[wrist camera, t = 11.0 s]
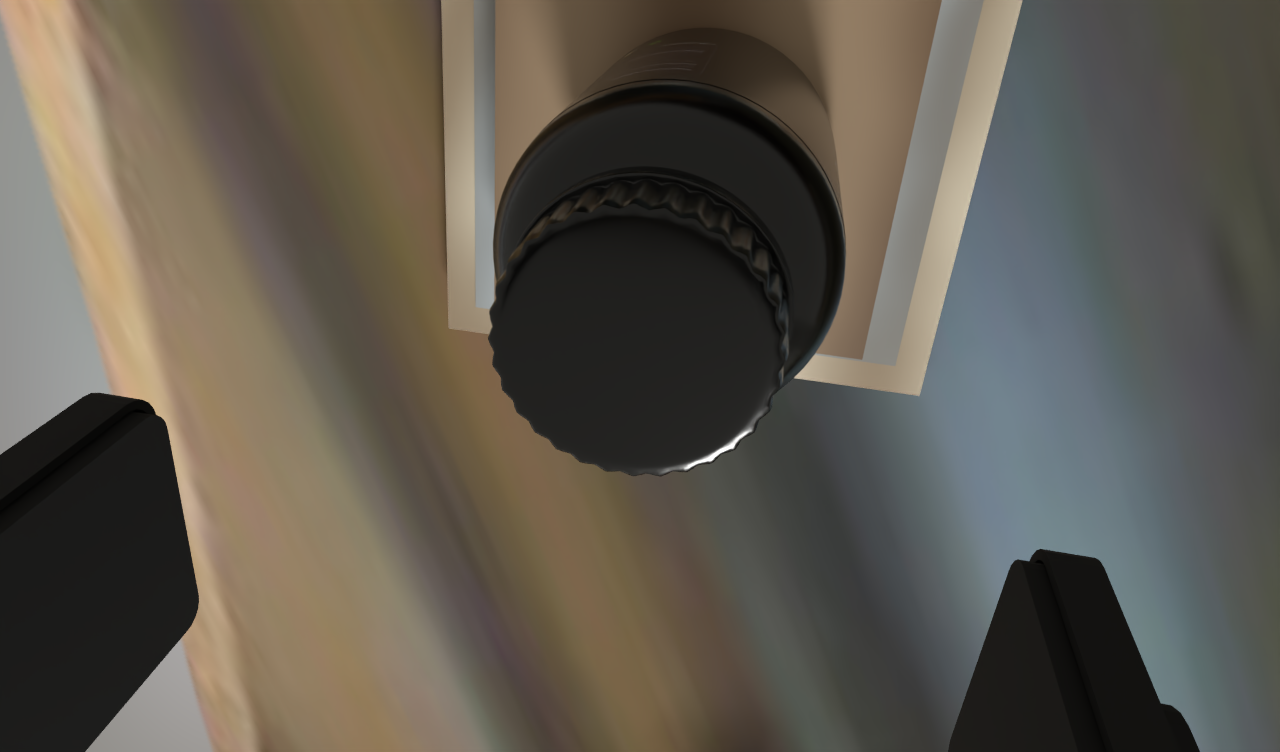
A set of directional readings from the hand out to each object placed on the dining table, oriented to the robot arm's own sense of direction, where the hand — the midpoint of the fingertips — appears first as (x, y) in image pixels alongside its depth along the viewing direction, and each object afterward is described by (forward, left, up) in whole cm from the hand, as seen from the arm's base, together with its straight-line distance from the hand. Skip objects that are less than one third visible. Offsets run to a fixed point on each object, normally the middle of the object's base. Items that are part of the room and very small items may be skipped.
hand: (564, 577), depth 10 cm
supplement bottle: (0, 0, -17) cm, 17 cm away
